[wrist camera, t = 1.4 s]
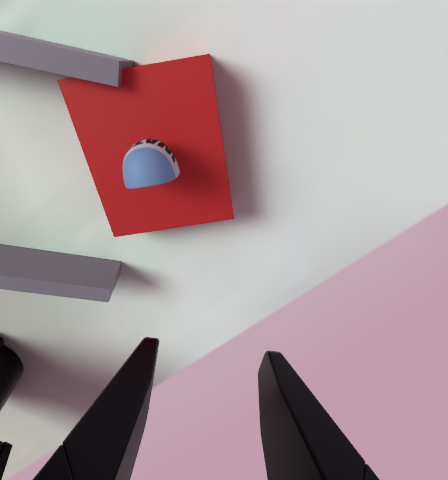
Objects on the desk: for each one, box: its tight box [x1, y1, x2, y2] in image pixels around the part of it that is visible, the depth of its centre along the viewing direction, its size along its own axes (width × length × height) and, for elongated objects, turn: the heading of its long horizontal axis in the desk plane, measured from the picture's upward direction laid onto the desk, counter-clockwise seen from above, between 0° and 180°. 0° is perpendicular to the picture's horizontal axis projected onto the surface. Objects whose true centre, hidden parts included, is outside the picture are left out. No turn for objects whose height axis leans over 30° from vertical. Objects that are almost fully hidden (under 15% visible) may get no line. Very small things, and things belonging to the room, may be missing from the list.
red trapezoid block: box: [58, 54, 234, 237], centre depth 16 cm, size 8×7×6 cm
